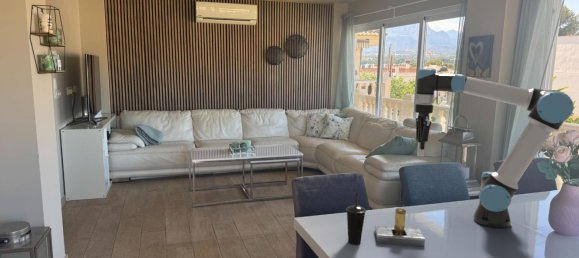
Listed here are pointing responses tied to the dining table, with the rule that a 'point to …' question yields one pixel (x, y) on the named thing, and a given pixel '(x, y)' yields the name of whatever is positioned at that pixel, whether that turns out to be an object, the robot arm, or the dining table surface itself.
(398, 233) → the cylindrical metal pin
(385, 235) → the jig
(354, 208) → the black tumbler with straw
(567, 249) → the dining table surface
